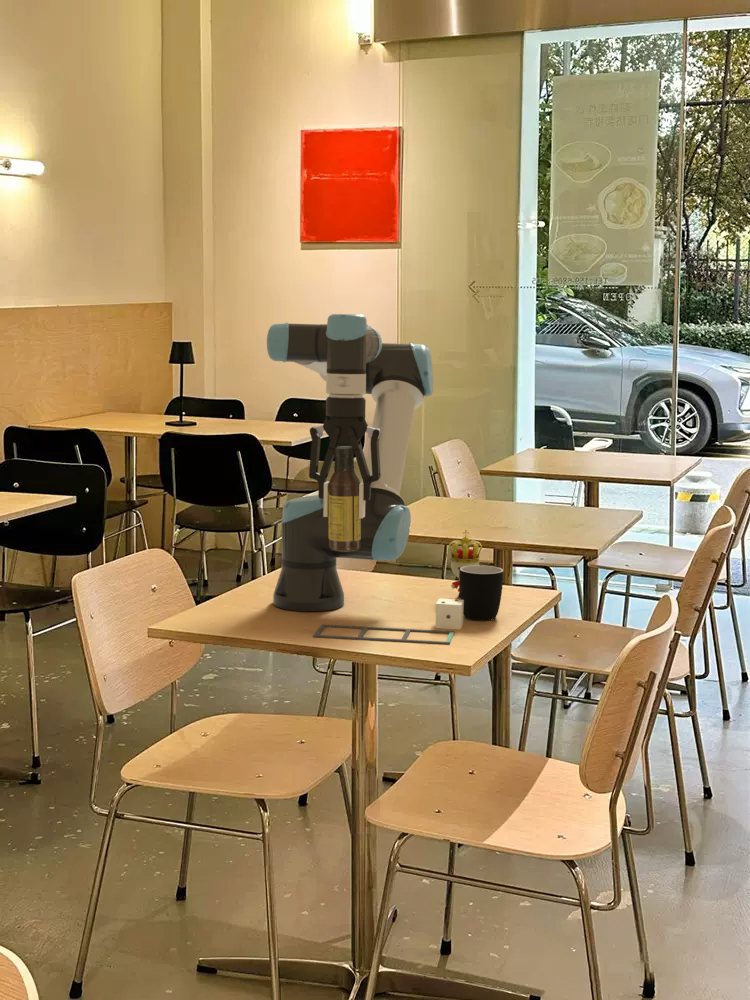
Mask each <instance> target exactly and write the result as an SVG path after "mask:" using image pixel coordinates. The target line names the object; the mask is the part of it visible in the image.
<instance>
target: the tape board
mask: <svg viewBox="0 0 750 1000" xmlns="http://www.w3.org/2000/svg"><path fill="white" fill-rule="evenodd" d="M325 628H340V629H358V630H359V629H360V630H361V631H360V632H359V634H357V636H350V635H331V634H329V635H328V634H321V633H322V632H323V631H324V630H325ZM368 630H377V631H378V630H379V631H380V630H381V631H396V632H397V631H399V632H404V634H403V636H402V637H401V638H388V637H387V638H386V637H367V636H365V637H364V635H365V634H366V632H367V631H368ZM412 632H417V633H418V632H419V633H431V634H432V633H436V634H448V636H447V638H446V640H445V641H439V640H423V639H421V640H420V639H408V637H409V635H410V633H412ZM454 634H455V631H453V630H439V629H438V630H436V629H421V628H420V629H418V628H402V627H401V628H400V627H398V628H397V627H382V626H366V625H365V626H360V625H345V624H342V625H341V624H325V623H323V624H321V625H320V626H319V628H318V629H317V630H316V631H315V632H314V633H313V635H312V638H322V639H323V638H325V639H326V638H327V639H345V640H360V641H361V640H362V641H363V640H364V641H379V642H380V641H381V642H383V641H384V642H398V643H417V644H432V645H433V644H436V645H451V642H452V639H453V636H454Z"/></svg>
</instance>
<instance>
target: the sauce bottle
mask: <svg viewBox="0 0 750 1000" xmlns="http://www.w3.org/2000/svg"><path fill="white" fill-rule="evenodd" d="M354 459H355V453H354V451H353V449H352V446H349V445H338V446H337V447H335V449H334V467H333V468H334V472H333V474H331V477H330V478H329V489H328V525H329V540H330V541H329V547H330V549H332V550H334V551H341V552H349V551H355V550H358V549H359V548H360V539H361V518H359V484H361V482H360V479H359V478H358V476H357V474H356V472H355V462H354V461H355V460H354Z"/></svg>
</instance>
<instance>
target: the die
mask: <svg viewBox="0 0 750 1000" xmlns="http://www.w3.org/2000/svg"><path fill="white" fill-rule="evenodd" d="M463 607H464V600H461V599H457V598H456V599H455V598H453V599H451V598H438V599H437V601H436V603H435V629H445V630H448V629H449V630H461V629H462V627H463V625H464V614H463Z"/></svg>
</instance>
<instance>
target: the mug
mask: <svg viewBox="0 0 750 1000" xmlns="http://www.w3.org/2000/svg"><path fill="white" fill-rule="evenodd" d="M458 579H459V580H458V581H459V586H458V589H459V590H460V597H459V598H460V600H464V607H463V617H464V618H465V619H467V620H468V621H469V620H470V621H475V622H488V621H489V622H490V621H493V620H495V619H496V617H497V616H498V613H499V611H500V605H501V600H502V592H503V585H504V584H503V583H504V570H503V568H501V567H498V566H492V565H491V566H490V565H480V564H479V565H472V566H464V567H461V568H460V572H459V578H458Z"/></svg>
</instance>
